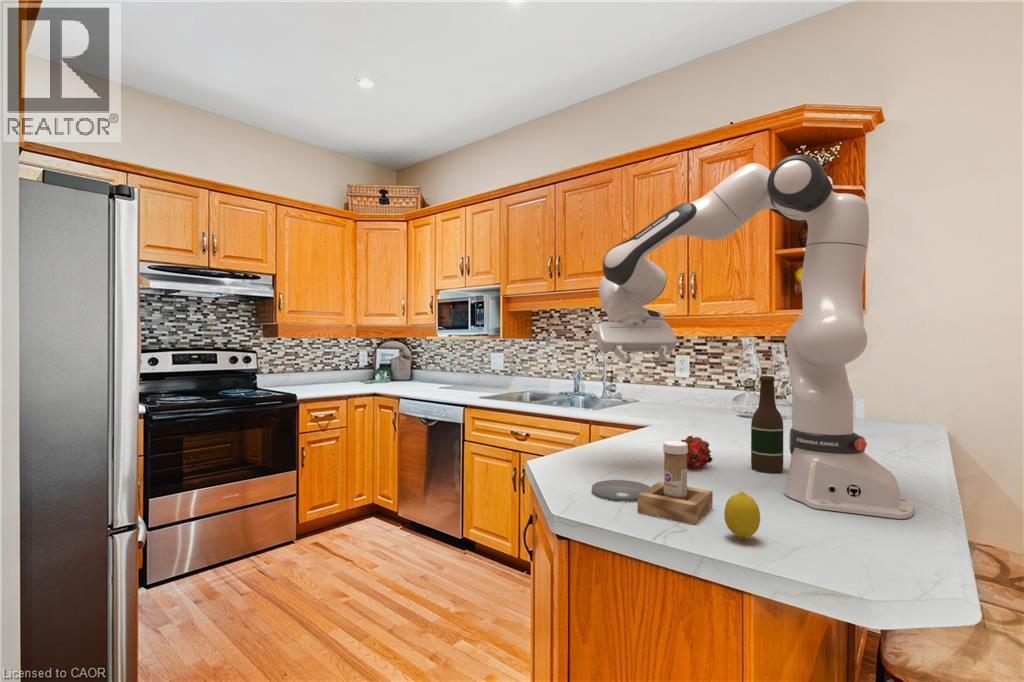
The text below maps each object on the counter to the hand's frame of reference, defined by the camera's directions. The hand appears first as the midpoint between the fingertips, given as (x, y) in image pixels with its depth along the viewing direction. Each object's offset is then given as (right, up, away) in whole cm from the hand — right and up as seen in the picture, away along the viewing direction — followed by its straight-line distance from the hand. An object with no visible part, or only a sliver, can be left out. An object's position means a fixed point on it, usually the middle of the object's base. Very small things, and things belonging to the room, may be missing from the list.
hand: (645, 361), depth 123 cm
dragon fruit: (+16, -28, +13) cm, 35 cm away
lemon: (+7, -29, -36) cm, 46 cm away
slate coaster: (-8, -28, -10) cm, 31 cm away
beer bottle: (+33, -28, +9) cm, 45 cm away
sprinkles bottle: (0, -29, -21) cm, 36 cm away
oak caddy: (0, -28, -21) cm, 36 cm away
